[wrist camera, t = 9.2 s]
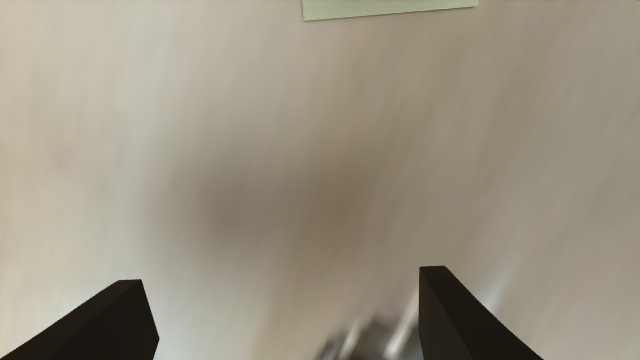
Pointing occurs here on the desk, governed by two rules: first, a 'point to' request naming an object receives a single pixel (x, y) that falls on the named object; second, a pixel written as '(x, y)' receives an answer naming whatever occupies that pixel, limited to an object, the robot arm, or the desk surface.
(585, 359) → the desk surface
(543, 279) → the desk surface
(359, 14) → the pad
